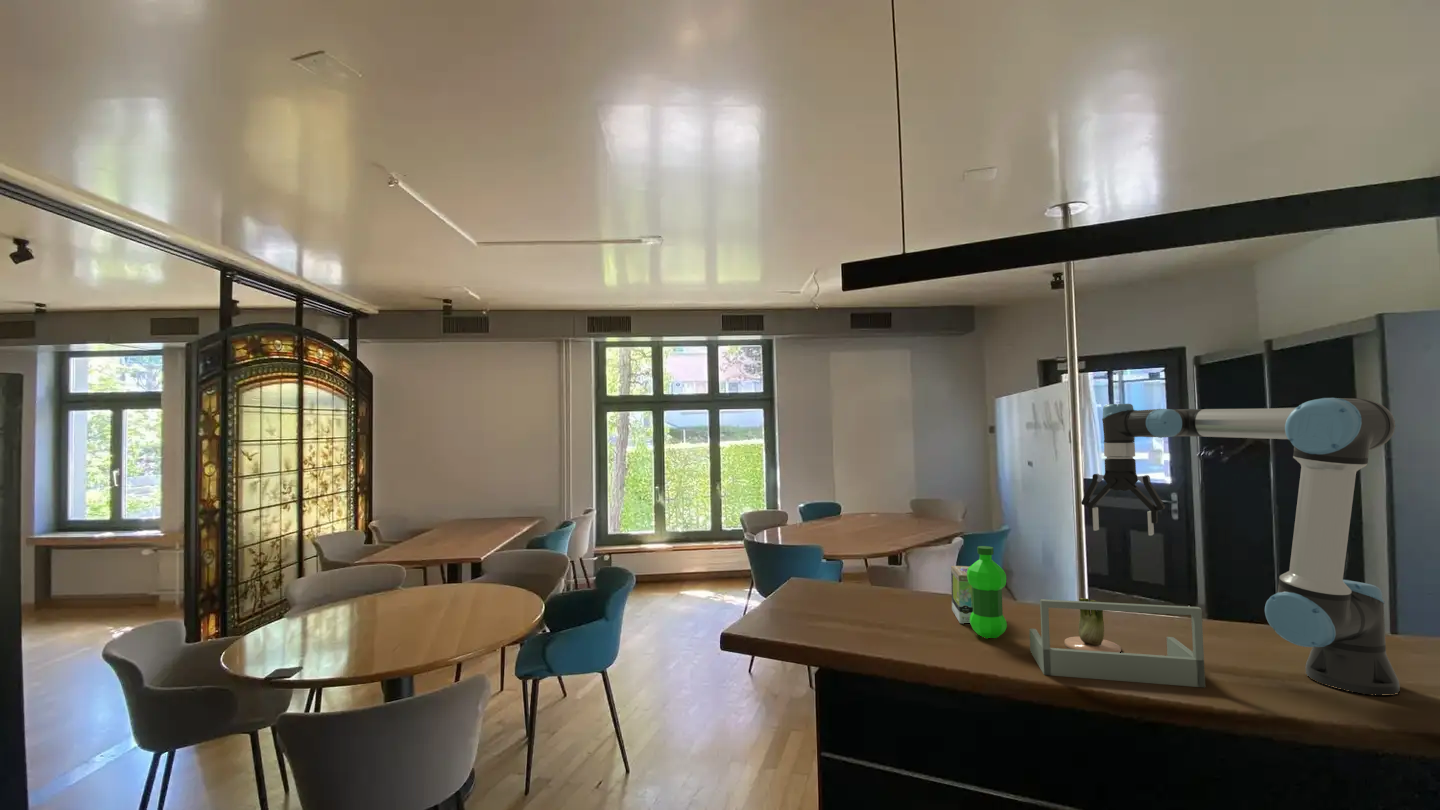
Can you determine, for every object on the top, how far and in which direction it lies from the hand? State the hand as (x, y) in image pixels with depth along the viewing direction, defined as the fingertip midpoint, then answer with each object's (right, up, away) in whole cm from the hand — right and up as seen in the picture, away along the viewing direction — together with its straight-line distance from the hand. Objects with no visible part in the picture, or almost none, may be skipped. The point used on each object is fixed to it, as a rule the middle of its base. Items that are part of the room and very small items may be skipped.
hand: (1122, 532), depth 181 cm
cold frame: (-19, -28, -25) cm, 42 cm away
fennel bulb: (-15, -28, -11) cm, 34 cm away
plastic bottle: (-38, -30, 0) cm, 48 cm away
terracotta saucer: (-15, -29, -11) cm, 34 cm away
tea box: (-36, -30, +18) cm, 50 cm away
